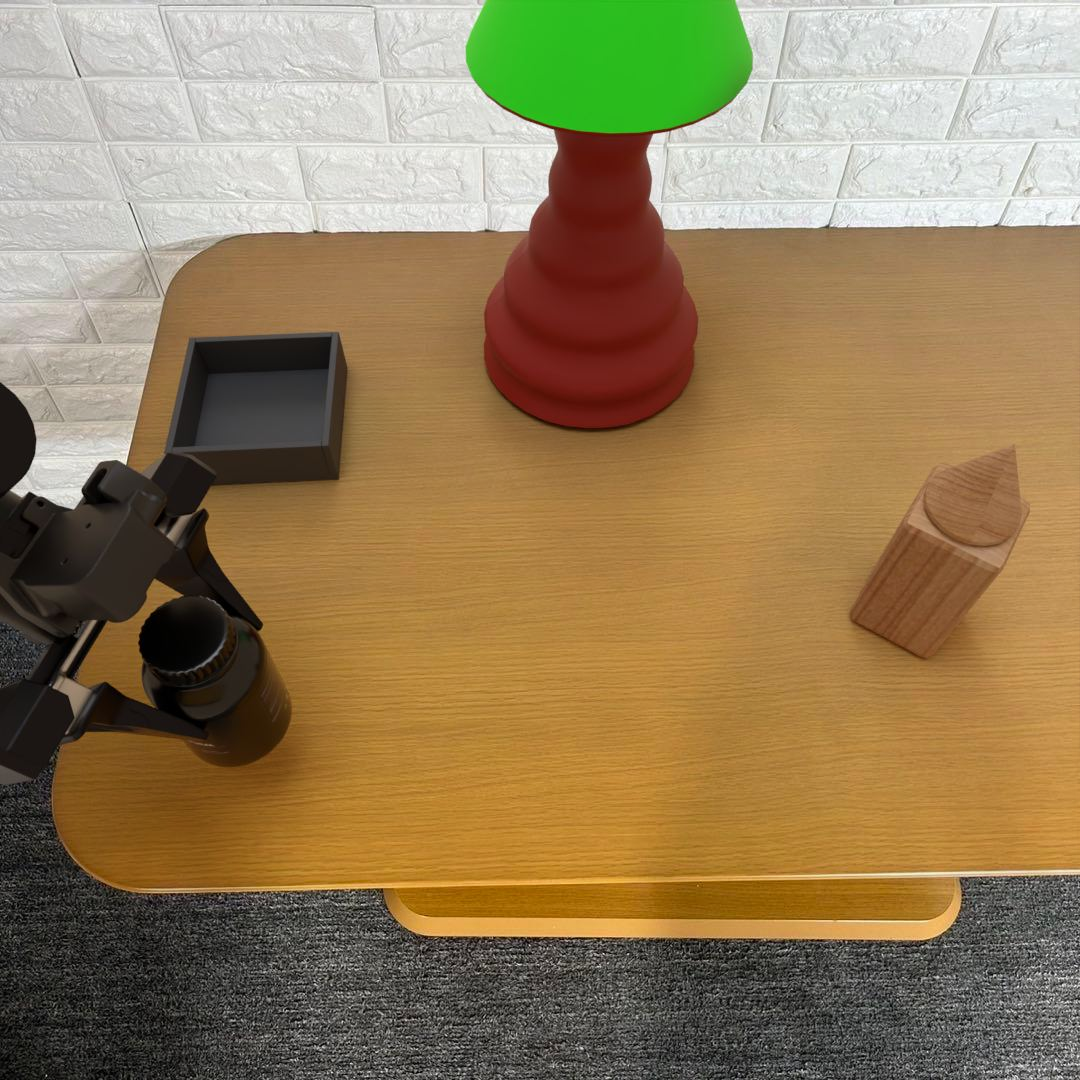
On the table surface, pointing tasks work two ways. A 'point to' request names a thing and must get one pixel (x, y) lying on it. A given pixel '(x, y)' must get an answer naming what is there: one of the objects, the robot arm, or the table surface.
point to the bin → (262, 406)
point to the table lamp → (600, 197)
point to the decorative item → (944, 552)
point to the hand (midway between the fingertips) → (232, 681)
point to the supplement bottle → (214, 679)
